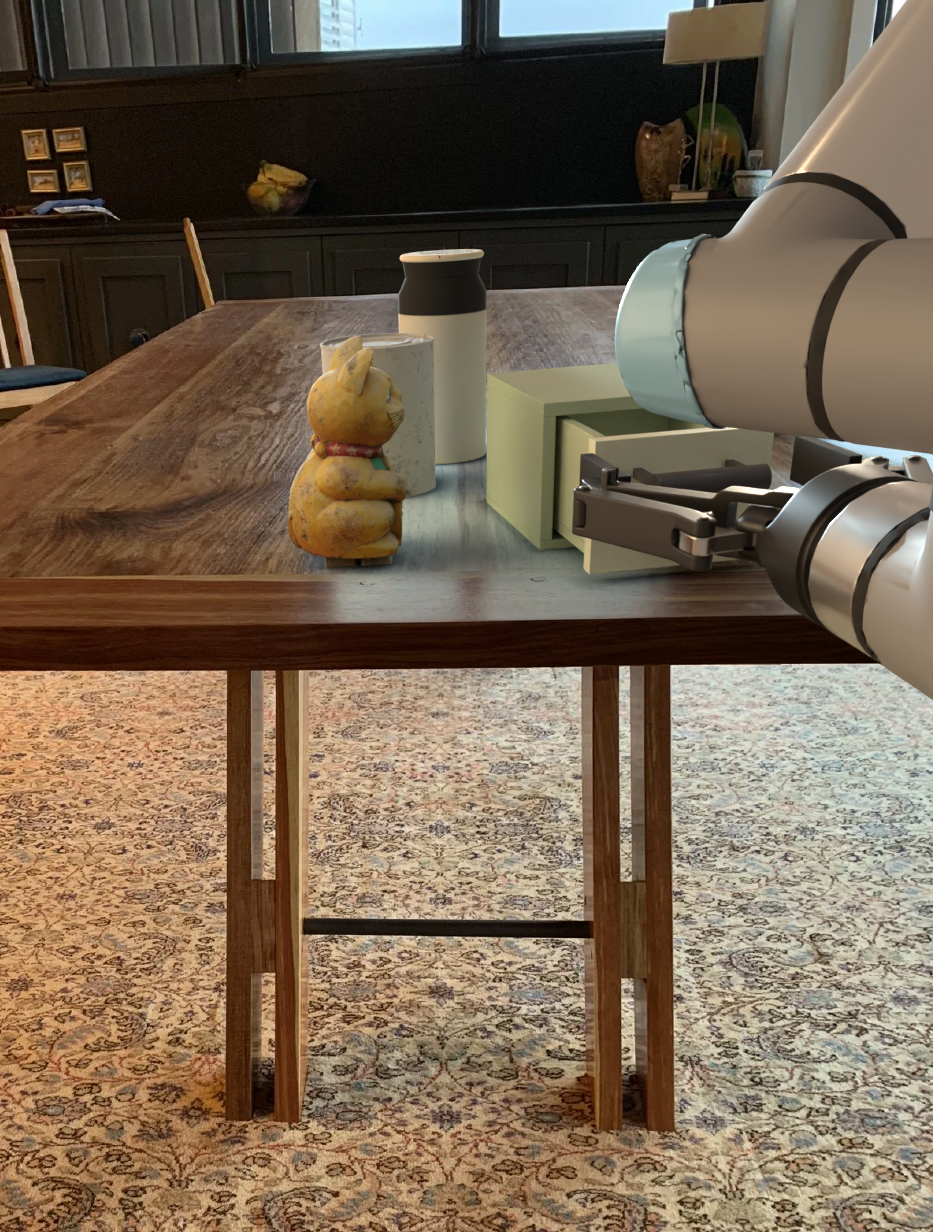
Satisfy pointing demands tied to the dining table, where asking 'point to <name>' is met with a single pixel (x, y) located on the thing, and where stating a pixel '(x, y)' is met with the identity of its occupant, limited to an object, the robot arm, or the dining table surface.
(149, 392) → the dining table surface
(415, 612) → the dining table surface
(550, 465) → the cabinet
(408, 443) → the white can
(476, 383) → the travel mug
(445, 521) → the dining table surface
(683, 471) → the drawer
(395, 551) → the decorative figurine
